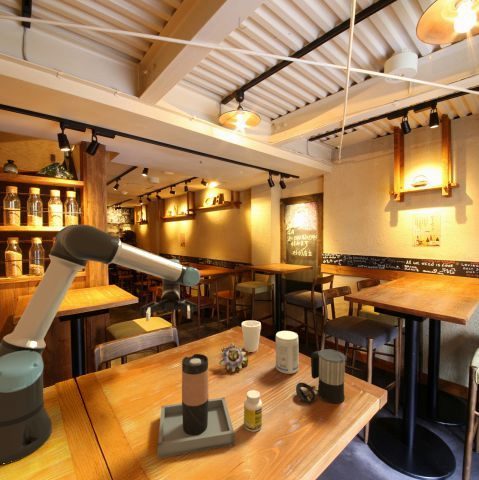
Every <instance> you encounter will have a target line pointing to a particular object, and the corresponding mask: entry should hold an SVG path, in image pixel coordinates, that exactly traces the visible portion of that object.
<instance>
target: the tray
mask: <svg viewBox="0 0 479 480" xmlns="http://www.w3.org/2000/svg"><path fill="white" fill-rule="evenodd" d="M160 410H161V411H160V419H159V421H160V422H159V429H158V430H159V431H158V439H157V440H158V441H157V460H159V459H165V458H170V457H177V456H180V455H187V454H194V453H197V452H204V451H209V450H214V449H220V448H226V447H233V446H235V431H234V427H233V423H232V420H231V415H230V412H229V408H228V406H227V402H226V398H225V397H217V398H210V399H209V398H208V425H207V429H206V430H205V431H204V432H203V433H201V434H199V435H188V434H186V433H185V432H184V430H183V414H182V402H181V403H174V404H173V403H172V404H166V405H161V409H160Z"/></svg>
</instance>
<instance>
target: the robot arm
mask: <svg viewBox="0 0 479 480" xmlns="http://www.w3.org/2000/svg"><path fill="white" fill-rule="evenodd" d="M48 257H49V259H50V263H49V265H48V267H47V268H46V271H45V272H44V274H43V276H42V278H41V280H40V281H39V283H38V284H37V287H36V289H35V290H34V293H33V294H32V296H31V298H30V299H29V301H28V304H27V306H26V307H25V309H24V311H23V313H22V314H21V317H20V318H19V320H18V322H17V324H16V325H15V327H14V329H13V331H12V332H11V333H8V334H6V335H5V336H3V338H2V339H1V342H0V464H3V463H7V464H9V463H8V462H11V461H14V462H16V461H19V460H21V459H23V458H25V457H27V456H29V455H31V454H32V453H34V452H35V451H37V450H38V449H40V448H41V447H42V446H43V445H44V444H45V443H46V442H47V441H48V440H49V438H50V437H51V435H52V431H53V425H52V419H51V418H50V415H49V414H48V412H47V410H46V408H45V405H44V404H45V402H44V399H45V397H44V396H45V395H44V367H45V366H44V361H43V357H42V354H43V352H44V351H45V348H46V345H47V344H46V342H45V340H44V339H45V337H46V335H47V333H48V331H49V329H50V327H51V325H52V323H53V321H54V318H55V317H56V315H57V314H58V311H59V309H60V308H61V305H62V304H63V301H64V299H65V297H66V296H67V293H68V291H69V289H70V287H71V285H72V283H73V281H74V279H75V278H76V275H77V274H78V272H79V271H81V270H82V269H85V268H86V266H87V265H88V262H90V261H91V262H97V263H102V264H105V265H110V264H114V265H115V264H116V265H119V266H122V267H125V268H128V269H132V270H133V271H134V270H135V271H137V272H141V273H145V274H147V275H151V276H153V277H154V276H155V277H158V278H161V279H162V291H161V292H162V294H161V298H160V301H158V302H156V300H152V301H151V302H149V303H147V304H144V305H142V306H140V307H139V315H143V317H145V321H146V322H149V320H150V317H151V314H154V313H156V312H163V311H165V312H173V311H179V310H180V311H184V312H187V313H186V314H187V319H191V314H193V313H194V312H198V304H197V303H195V302H193V301H190V300H189V299H187V298H185V299H184V300H183V301H181V297H180V296H181V289H180V288H181V287H180V285H183V286H185V287H196V286H197V285H198V284H199V282H200V280H201V273H200V271H199V270H198V269H197V268H194V267H190V266H188V265H184V264H181V262H180V260H179V259H171V258H169V259H168V258H166V257H163V256H160V255H157V254H155V253H152V252H150V251H147V250H144V249H142V248H138V247H135V246H133V245H131V244H127V243H125V242H122V241H121V239H120V237H117V236H115V235H112V234H110V233H108V232H105V231H103V230H101V229H99V228H98V227H95V226H93V225H89V224H70V225H67V226H65V227H63V228H62V229H60V231H58V233H56V235H55V239H54V244H53V246H52V248H51V250H50V252H49V254H48ZM22 457H23V458H22ZM20 458H21V459H20ZM18 459H19V460H18ZM15 460H16V461H15ZM11 463H12V462H11ZM3 465H4V464H3Z"/></svg>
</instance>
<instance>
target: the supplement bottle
mask: <svg viewBox="0 0 479 480" xmlns="http://www.w3.org/2000/svg"><path fill="white" fill-rule="evenodd" d="M243 403H244V404H243V405H244V406H243V408H244V409H243V426H244V428H245V430H247V431H250V432H251V433H255V432H258V431H259V430H261V429H262V426H263V401H262V400H261V394H260V392H259V391H258V390H255V389H252V390H248V391H247V393H246V398H245V400H244V402H243Z"/></svg>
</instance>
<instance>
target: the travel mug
mask: <svg viewBox="0 0 479 480" xmlns="http://www.w3.org/2000/svg"><path fill="white" fill-rule="evenodd" d="M208 400H209V358H208V357H207V356H206V355H205V354H201V353H195V354H192V355H191V356H185V357H183V358H182V361H181V403H182V414H183V430H184V432H185V433H186V434H188V435H199V434H201V433H203V432H204V431H205V430H206V429H207V425H208Z"/></svg>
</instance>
